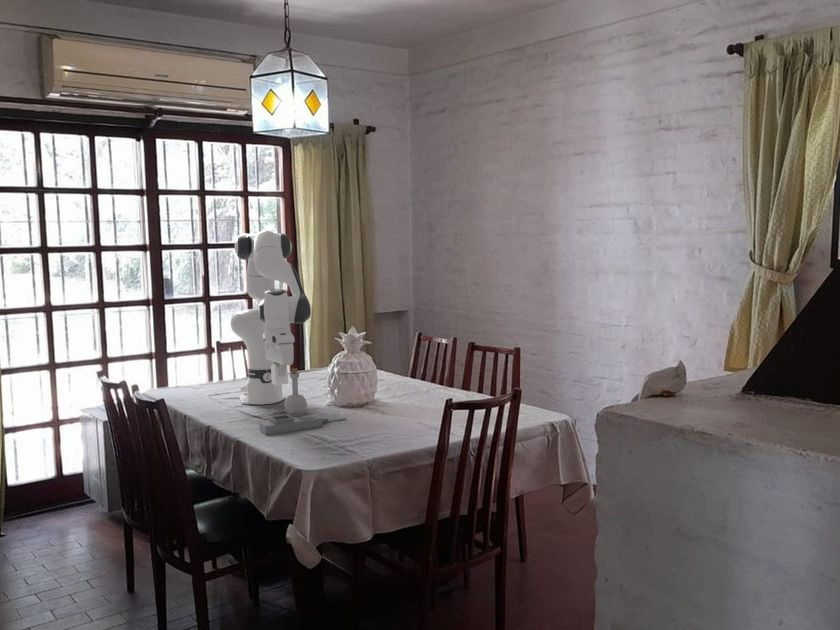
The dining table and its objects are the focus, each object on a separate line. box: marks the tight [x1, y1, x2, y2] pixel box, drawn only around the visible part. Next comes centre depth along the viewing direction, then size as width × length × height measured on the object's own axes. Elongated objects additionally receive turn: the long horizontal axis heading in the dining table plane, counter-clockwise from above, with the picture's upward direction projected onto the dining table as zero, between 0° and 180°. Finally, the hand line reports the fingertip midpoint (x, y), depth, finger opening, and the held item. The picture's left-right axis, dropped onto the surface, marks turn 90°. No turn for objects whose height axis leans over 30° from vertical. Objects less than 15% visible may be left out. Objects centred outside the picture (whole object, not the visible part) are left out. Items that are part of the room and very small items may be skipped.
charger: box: [271, 363, 289, 385], centre depth 277 cm, size 4×4×7 cm
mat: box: [318, 412, 347, 424], centre depth 294 cm, size 10×10×1 cm
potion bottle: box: [283, 367, 308, 417], centre depth 303 cm, size 9×9×18 cm
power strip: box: [259, 414, 328, 436], centre depth 282 cm, size 7×25×4 cm, turn 119°
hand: (279, 374), depth 278 cm, fingers closed on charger, 4 cm apart
